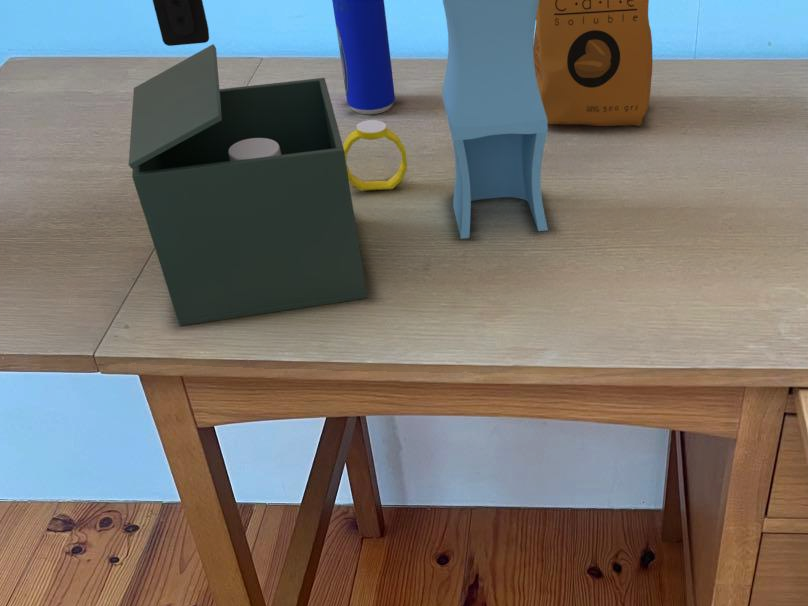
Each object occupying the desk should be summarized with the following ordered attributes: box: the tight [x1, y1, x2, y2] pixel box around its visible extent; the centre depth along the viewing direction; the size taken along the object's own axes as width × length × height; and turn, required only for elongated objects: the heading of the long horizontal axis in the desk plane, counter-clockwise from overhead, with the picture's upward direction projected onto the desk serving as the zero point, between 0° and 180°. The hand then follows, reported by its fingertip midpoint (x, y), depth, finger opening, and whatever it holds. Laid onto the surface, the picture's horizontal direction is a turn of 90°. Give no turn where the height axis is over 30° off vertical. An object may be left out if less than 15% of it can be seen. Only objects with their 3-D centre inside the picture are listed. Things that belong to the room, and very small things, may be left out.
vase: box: [441, 0, 549, 240], centre depth 85 cm, size 8×8×20 cm
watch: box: [342, 119, 408, 192], centre depth 94 cm, size 6×3×6 cm, turn 101°
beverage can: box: [331, 0, 396, 115], centre depth 104 cm, size 5×5×15 cm
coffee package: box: [533, 0, 654, 127], centre depth 99 cm, size 10×12×22 cm
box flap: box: [128, 43, 222, 170], centre depth 75 cm, size 7×14×1 cm, turn 15°
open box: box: [131, 77, 368, 327], centre depth 81 cm, size 15×14×12 cm
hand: (187, 39), depth 72 cm, fingers closed
